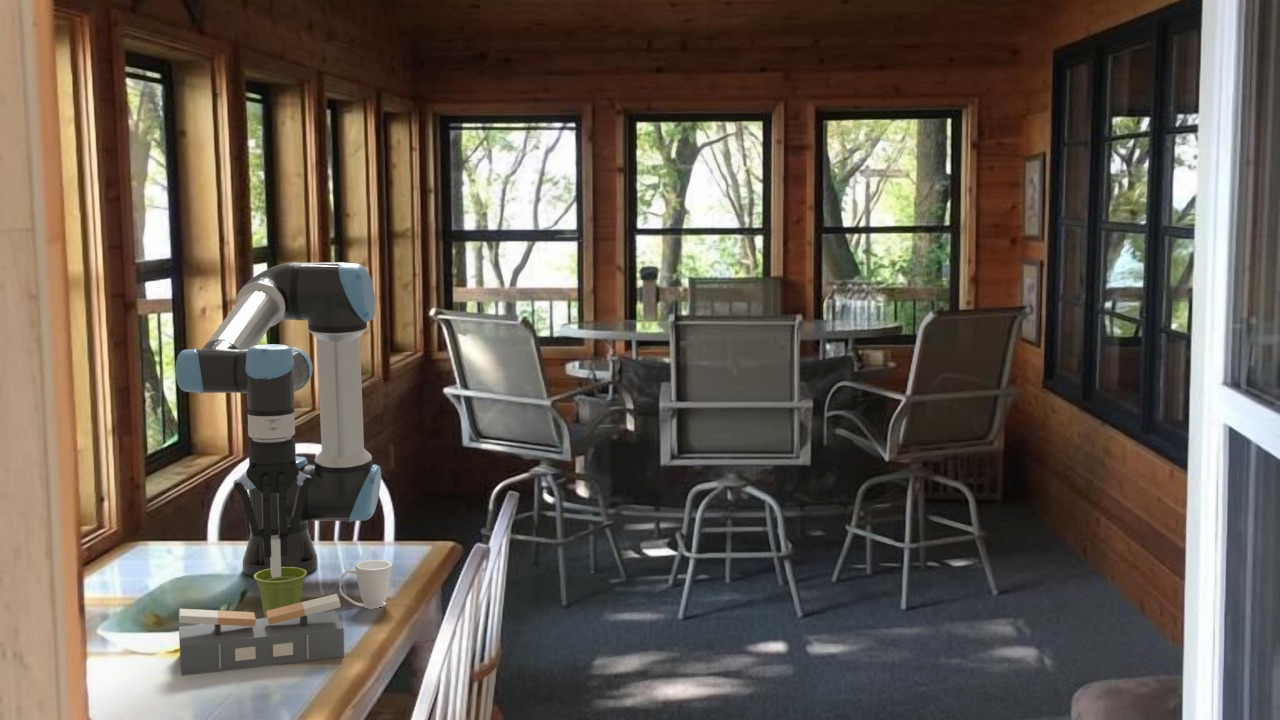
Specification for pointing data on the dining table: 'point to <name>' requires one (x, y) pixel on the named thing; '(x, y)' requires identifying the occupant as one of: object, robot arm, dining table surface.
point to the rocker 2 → (303, 609)
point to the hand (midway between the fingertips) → (275, 574)
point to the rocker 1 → (217, 617)
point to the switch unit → (260, 643)
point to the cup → (371, 582)
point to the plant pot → (280, 587)
